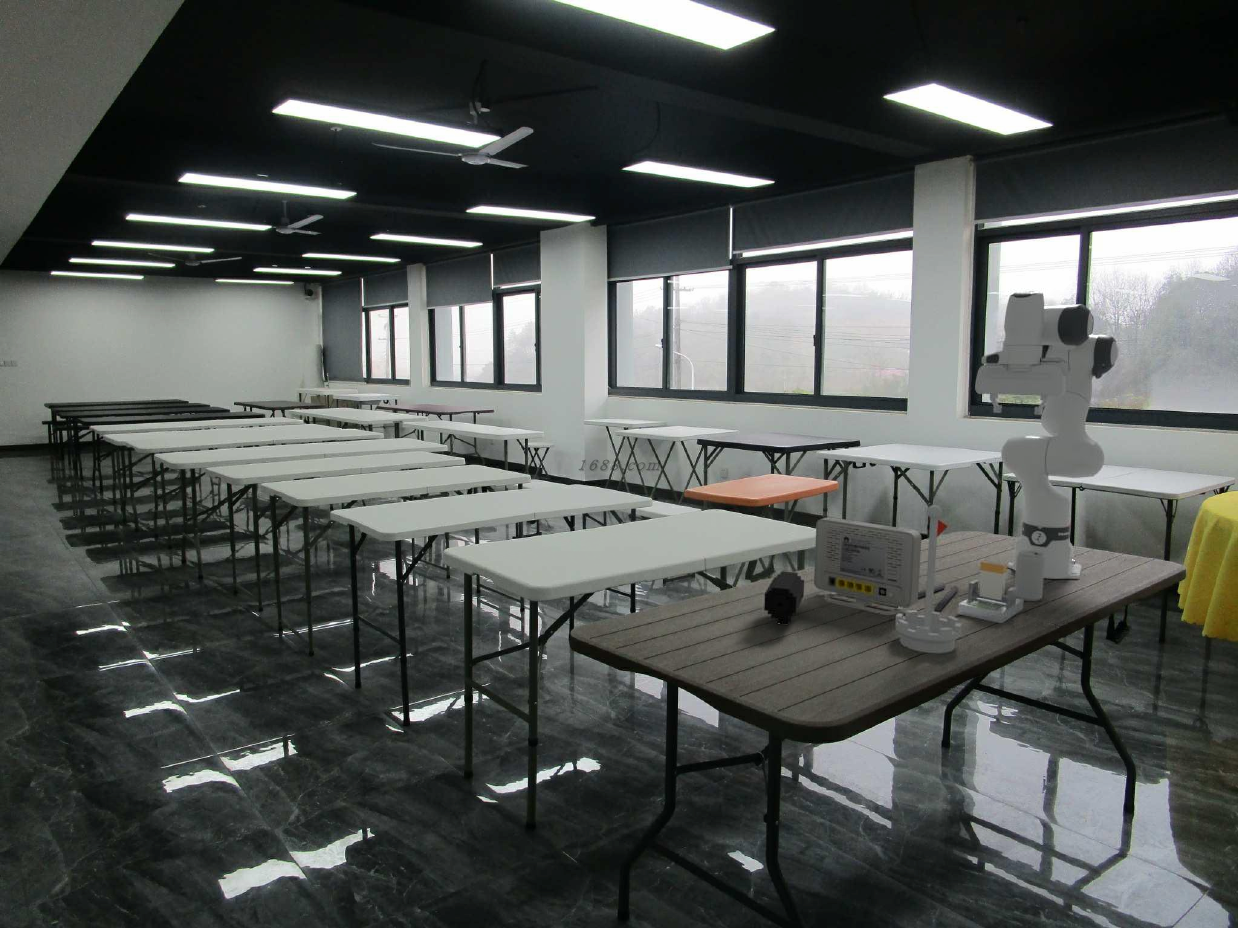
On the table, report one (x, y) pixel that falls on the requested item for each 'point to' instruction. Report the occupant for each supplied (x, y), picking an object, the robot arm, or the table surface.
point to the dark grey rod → (946, 599)
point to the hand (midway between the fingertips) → (1017, 413)
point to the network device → (867, 563)
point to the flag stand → (929, 607)
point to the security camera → (784, 596)
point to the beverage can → (1029, 575)
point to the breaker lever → (992, 581)
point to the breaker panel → (990, 605)
